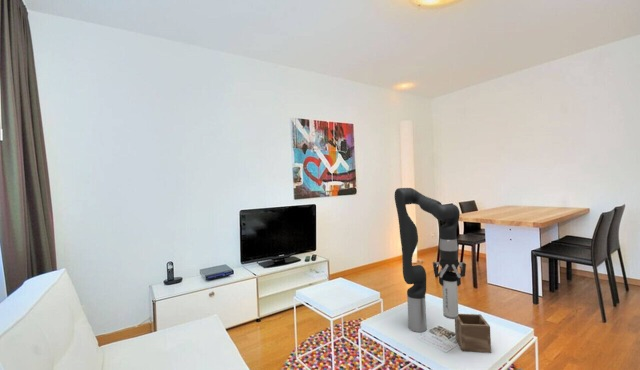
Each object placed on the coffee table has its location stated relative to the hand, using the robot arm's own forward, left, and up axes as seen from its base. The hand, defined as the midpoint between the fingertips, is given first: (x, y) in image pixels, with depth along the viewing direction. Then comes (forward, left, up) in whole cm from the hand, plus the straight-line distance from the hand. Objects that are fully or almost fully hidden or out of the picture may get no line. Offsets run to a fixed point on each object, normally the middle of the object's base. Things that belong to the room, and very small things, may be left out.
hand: (449, 285), depth 133 cm
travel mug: (0, 0, -14) cm, 14 cm away
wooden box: (-8, +11, -31) cm, 33 cm away
